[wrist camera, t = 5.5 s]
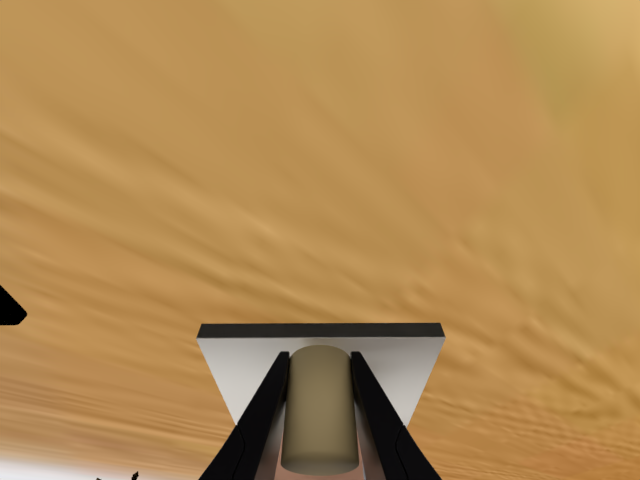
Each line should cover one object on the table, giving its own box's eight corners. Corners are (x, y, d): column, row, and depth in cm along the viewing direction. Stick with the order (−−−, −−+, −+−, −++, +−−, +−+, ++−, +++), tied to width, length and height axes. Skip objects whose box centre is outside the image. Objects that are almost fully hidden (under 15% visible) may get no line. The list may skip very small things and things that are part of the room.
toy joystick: (254, 324, 13) (228, 449, 9) (387, 326, 13) (412, 452, 9) (277, 457, 23) (270, 539, 20) (350, 457, 23) (356, 539, 20)
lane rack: (201, 323, 14) (179, 384, 12) (440, 322, 14) (462, 383, 12) (266, 478, 30) (262, 517, 27) (378, 478, 29) (383, 517, 27)
